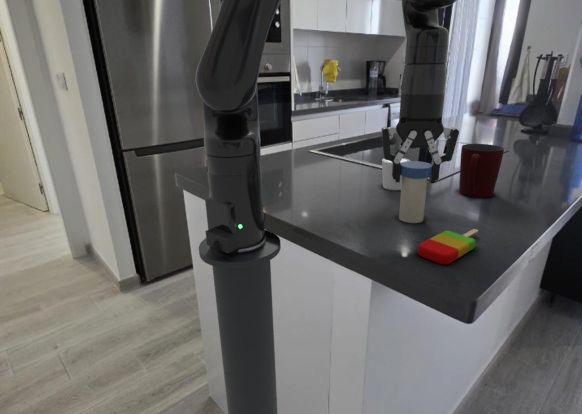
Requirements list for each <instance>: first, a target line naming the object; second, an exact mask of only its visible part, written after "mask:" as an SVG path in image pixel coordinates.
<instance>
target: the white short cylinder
mask: <svg viewBox="0 0 582 414" xmlns="http://www.w3.org/2000/svg"><path fill="white" fill-rule="evenodd" d="M407 161H411V160H410V159H408V158H405V157H403V158H402V160H401V161H400V163H402V162H407ZM392 166H393V162H391V161H389V160H385V158H384V157H383V158H382V159H381V171H382V172H381V173H382V187H383V189H385V190H389V191H401V183H402V176H401V175H400V182H395V179H393V177H392Z"/></svg>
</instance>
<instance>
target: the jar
mask: <svg viewBox="0 0 582 414" xmlns="http://www.w3.org/2000/svg"><path fill="white" fill-rule="evenodd" d="M428 181H429V177H428V178H408V177H404V176H402V183H401V190H400V198H399V211H398V219H399V220H400V221H402V222H403V223H407V224H420V223H423V221H424V219H425V210H426V209H425V208H426V199H427V191H428Z"/></svg>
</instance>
